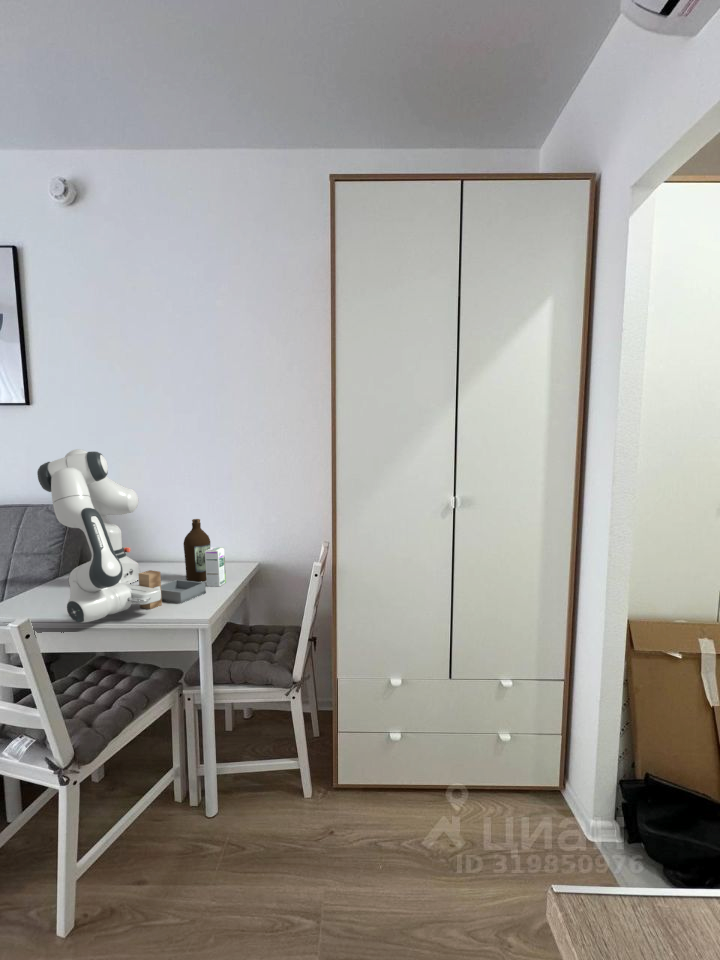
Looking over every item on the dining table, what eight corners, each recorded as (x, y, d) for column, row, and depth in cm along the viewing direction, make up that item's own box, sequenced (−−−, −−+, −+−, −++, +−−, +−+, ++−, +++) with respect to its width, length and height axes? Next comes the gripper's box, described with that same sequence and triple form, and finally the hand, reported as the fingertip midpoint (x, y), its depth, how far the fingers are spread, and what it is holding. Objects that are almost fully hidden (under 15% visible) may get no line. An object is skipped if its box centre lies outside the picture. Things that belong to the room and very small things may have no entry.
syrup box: (220, 586, 217) (218, 550, 215) (206, 586, 218) (204, 550, 217) (226, 583, 222) (224, 547, 221) (212, 582, 223) (211, 547, 222)
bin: (177, 589, 214) (176, 579, 213) (205, 593, 208) (205, 582, 208) (151, 599, 201) (150, 588, 201) (181, 603, 196) (180, 592, 195)
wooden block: (150, 609, 190) (148, 575, 189) (140, 607, 192) (138, 573, 191) (161, 605, 194) (160, 571, 193) (151, 603, 196) (150, 570, 195)
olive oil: (179, 579, 228) (177, 519, 226) (202, 574, 236) (200, 516, 234) (194, 584, 221) (191, 522, 219) (216, 578, 229) (214, 519, 227)
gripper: (140, 592, 176) (173, 581, 188) (97, 585, 186) (131, 575, 198) (141, 611, 177) (174, 600, 189) (98, 603, 186) (132, 592, 198)
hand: (152, 587), depth 193 cm, fingers closed on wooden block, 5 cm apart
